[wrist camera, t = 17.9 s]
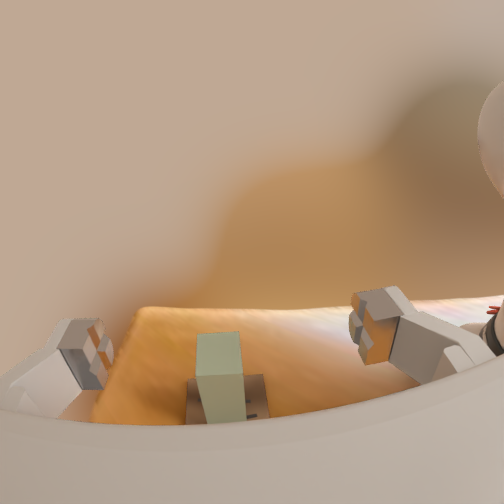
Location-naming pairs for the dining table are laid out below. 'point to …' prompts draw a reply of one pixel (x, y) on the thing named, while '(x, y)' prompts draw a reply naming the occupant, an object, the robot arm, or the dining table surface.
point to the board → (253, 401)
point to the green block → (220, 377)
